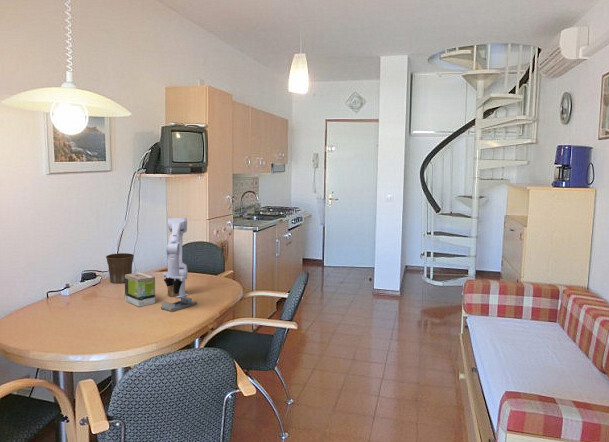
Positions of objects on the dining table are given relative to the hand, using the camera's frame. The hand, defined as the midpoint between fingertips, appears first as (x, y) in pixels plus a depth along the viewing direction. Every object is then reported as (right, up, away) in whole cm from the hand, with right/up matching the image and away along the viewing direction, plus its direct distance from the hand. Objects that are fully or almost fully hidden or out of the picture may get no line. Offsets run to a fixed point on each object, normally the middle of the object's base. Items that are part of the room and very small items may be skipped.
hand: (173, 292), depth 243 cm
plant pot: (-47, -1, +51) cm, 69 cm away
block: (0, -2, 0) cm, 2 cm away
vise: (+2, -8, +4) cm, 9 cm away
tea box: (-21, -7, +10) cm, 24 cm away
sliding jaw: (+5, -6, +8) cm, 11 cm away
